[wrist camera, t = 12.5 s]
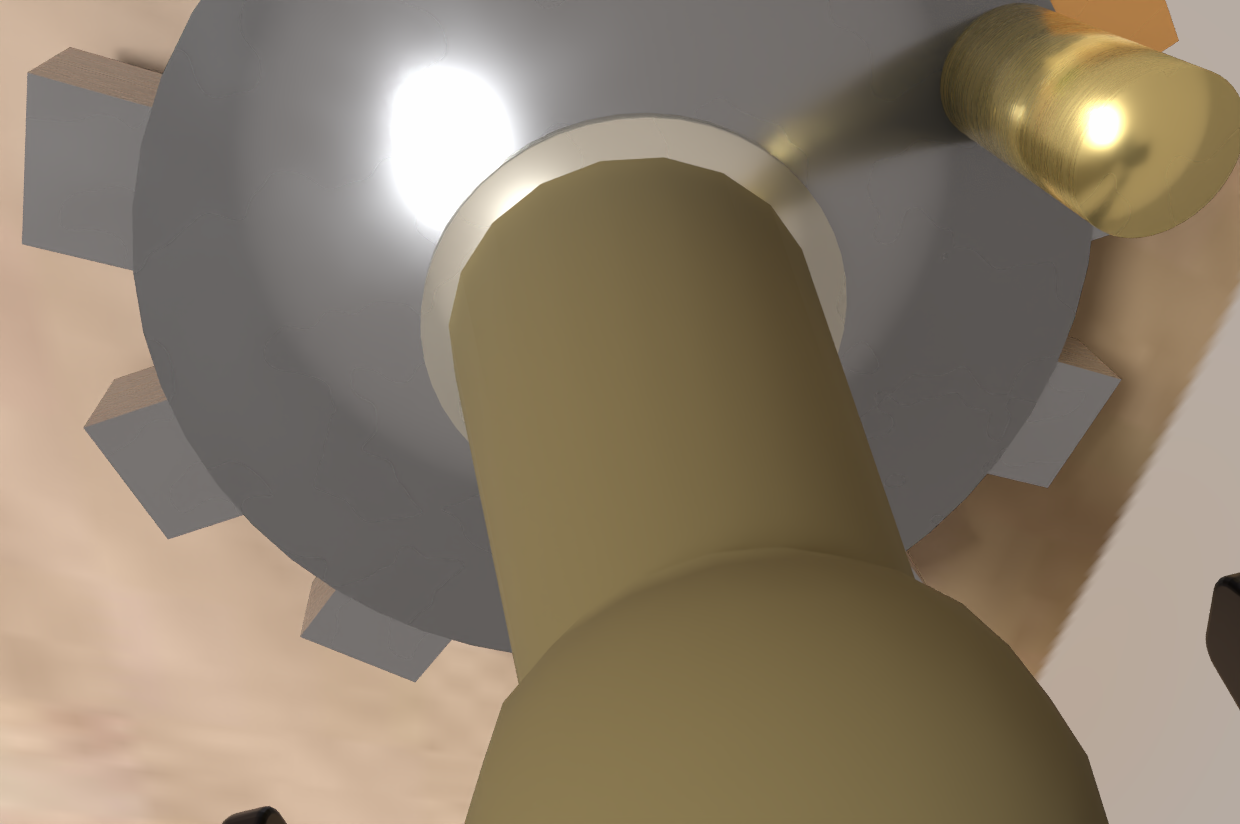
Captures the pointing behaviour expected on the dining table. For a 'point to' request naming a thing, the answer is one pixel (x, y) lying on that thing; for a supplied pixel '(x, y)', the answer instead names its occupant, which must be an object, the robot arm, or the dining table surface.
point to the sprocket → (549, 148)
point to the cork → (712, 540)
